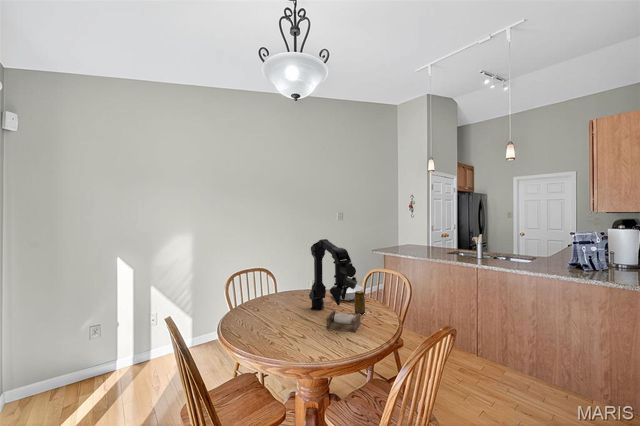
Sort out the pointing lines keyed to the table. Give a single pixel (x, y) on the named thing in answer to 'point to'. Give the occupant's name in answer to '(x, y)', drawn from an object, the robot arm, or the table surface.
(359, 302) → the condiment
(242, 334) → the table surface
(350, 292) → the serving bowl
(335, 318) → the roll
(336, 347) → the table surface
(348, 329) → the cradle
